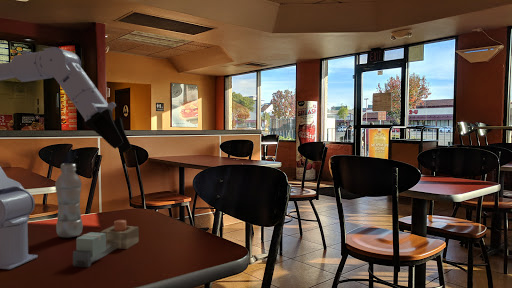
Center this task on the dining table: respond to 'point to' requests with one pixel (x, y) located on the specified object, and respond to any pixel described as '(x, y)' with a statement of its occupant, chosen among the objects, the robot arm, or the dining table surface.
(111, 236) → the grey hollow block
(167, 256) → the dining table surface
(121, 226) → the button
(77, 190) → the plastic bottle
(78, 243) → the block
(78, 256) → the rail
